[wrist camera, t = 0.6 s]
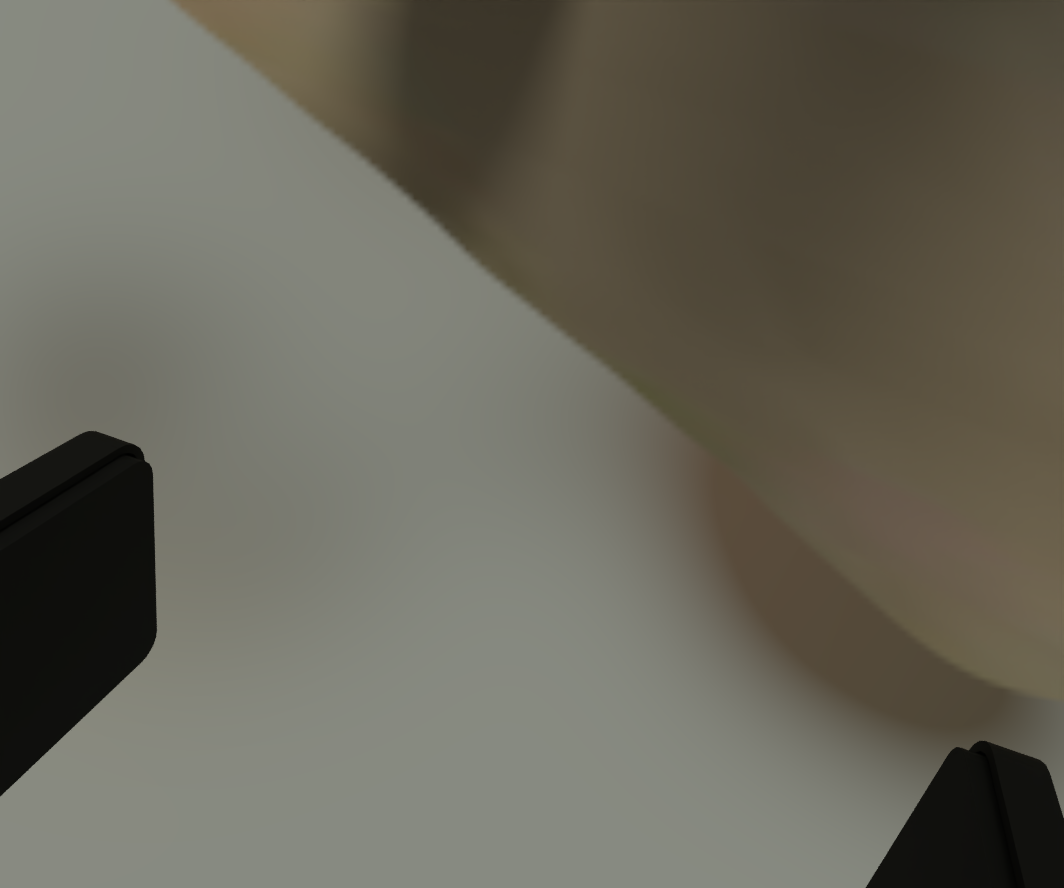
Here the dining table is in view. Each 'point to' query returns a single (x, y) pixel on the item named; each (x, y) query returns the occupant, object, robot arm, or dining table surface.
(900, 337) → the dining table surface
